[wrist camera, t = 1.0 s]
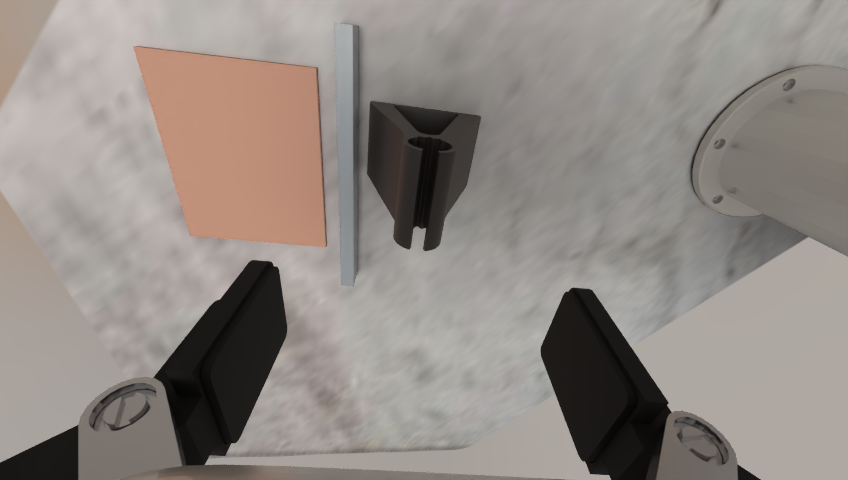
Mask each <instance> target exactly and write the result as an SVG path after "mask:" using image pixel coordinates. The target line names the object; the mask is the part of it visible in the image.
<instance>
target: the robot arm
mask: <svg viewBox="0 0 848 480" xmlns="http://www.w3.org/2000/svg"><path fill="white" fill-rule="evenodd" d="M692 174H693V185H694V189H695V192H696V194H697V195H698V197H699V198H700V200H701V201H702V202H703V203H705V204H706V205H707V206H708V207H710V208H712V209H714V210H715V211H717V212H719V213H722V214H725V215H728V216H736V217H748V216H756V215H761V214H765V215H767V216H769V217H771V218H773V219H775V220H777V221H779V222H781V223H783V224H785V225H787V226H789V227H791V228H793V229H794V230H796V231H798V232H800V233H802V234H804V235H806V236H808V237H810V238H812V239H814V240H816V241H818V242H820V243H822V244H824V245H826V246H828V247H830V248H832V249H834V250H836V251H838V252H840V253H842V254H844V255H846V256H848V70H846V69H843V68H839V67H834V66H819V65H815V66H804V67H798V68H795V69H791V70H787V71H784V72H781V73H779V74H777V75H775V76H772V77H770V78H768V79H766V80H764V81H762V82H761V83H759V84H757V85H756V86H754V87H753V88H751V89H749V90H748V91H747V92H745V93H744V94H743V95H742V96H740V97H739V98H738V99H736V100H735V101H734V102H733V103H732V104H731V105H730V106H729V107H728V108H727V109H726V110H725V111H724V112H723V113H722V114H721V115H720V116H719V117H718V119H717V120H716V121H715V122H714V124H713V125H712V126H711V127H710V129H709V130H708V132H707V134H706V135H705V137H704V139H703V140H702V142H701V144H700V146H699V149H698V151H697V154H696V156H695V160H694V165H693V170H692ZM286 334H287V322H286V316H285V309H284V302H283V295H282V288H281V281H280V274H279V269H278V267H274V266H273V263H272V262H269V261H257V260H252V261H250V262H249V263H248V264H247V266H246V267H245V268H244V270H243V271H242V272H241V273H240V275H239V276H238V277H237V279H236V280H235V281H234V282H233V284H232V285H231V286H230V288H229V289H228V290H227V291H226V293H225V294H224V295H223V297H222V298H221V299H220V300H217V301H215V302H214V303H213V304H212V305H211V306H210V307H209V308H208V310H207V311H206V312H205V313H204V315H203V316H202V317H201V318H200V320H199V321H198V322H197V323H196V325H195V326H194V327H193V329H192V330H191V331H190V332H189V334H188V335H187V336H186V337H185V339H184V340H183V341H182V342H181V344H180V345H179V346H178V347H177V349H176V350H175V351H174V352H173V354H172V355H171V356H170V357H169V359H168V360H167V361H166V363H165V364H164V365H163V366H162V368H161V369H160V370H159V371H158V373H157V374H156V375H155V376H154V378H149V377H141V378H134V379H130V380H127V381H124V382H121V383H119V384H117V385H115V386H113V387H111V388H109V389H108V390H106V391H105V392H103V393H102V394H100V395H99V396H97V397H96V398H95V399H94V400H93V401H92V402H91V403H90V404H89V405H88V406H87V408H86V409H85V411H84V412H83V414H82V415H81V418H80V422H79V425H77V426H75V427H73V428H71V429H69V430H67V431H65V432H63V433H61V434H59V435H57V436H55V437H52V438H50V439H48V440H46V441H44V442H42V443H40V444H38V445H36V446H34V447H32V448H30V449H28V450H25V451H23V452H22V453H19V454H18V455H15V456H13V457H11V458H9V459H7V460H5V461H3V462H1V463H0V480H561V479H543V478H523V477H506V476H485V475H466V474H445V473H425V472H404V471H382V470H361V469H360V470H359V469H337V468H313V467H291V466H254V465H205V463H206V461H207V459H208V457H209V455H217V456H225V455H226V453H227V451H228V449H229V447H230V445H231V443H236V442H237V441H238V440H239V438H240V436H241V434H242V432H243V430H244V428H245V425H246V423H247V421H248V419H249V417H250V415H251V412H252V410H253V408H254V406H255V404H256V401H257V399H258V397H259V395H260V393H261V390H262V388H263V386H264V384H265V382H266V380H267V377H268V375H269V373H270V371H271V369H272V366H273V364H274V362H275V360H276V358H277V355H278V353H279V351H280V349H281V347H282V345H283V342H284V340H285V338H286ZM541 357H542V360H543V362H544V365H545V367H546V370H547V373H548V375H549V378H550V381H551V383H552V386H553V389H554V391H555V394H556V396H557V399H558V402H559V405H560V407H561V410H562V412H563V415H564V418H565V421H566V423H567V426H568V428H569V431H570V434H571V436H572V439H573V442H574V444H575V447H576V450H577V452H578V455H579V457H580V458H581V460H582V461H585V462H586V464H587V467H588V469H589V472H590V474H600V475H609V476H610V478H611V480H760V479H759V478H757V477H756V476H754V475H753V474H751V473H750V472H748V471H747V470H745V469H744V468H742V467H741V466H739V465H738V464H737V459H736V454H735V452H734V450H733V448H732V447H731V445H730V443H729V442H728V441H727V439H726V438H725V437H724V436H723V435H722V434H721V433H720V432H719V431H718V430H717V429H716V428H715V427H714V426H713V425H711V424H709V423H708V422H707V421H705V420H704V419H702V418H700V417H698V416H696V415H694V414H692V413H688V412H684V411H675V412H671V411H670V409H669V408H668V406H667V404H668V401H667V400H666V398H665V397H664V395H663V394H662V392H661V391H660V389H659V388H658V387H657V385H656V383H655V382H654V380H653V379H652V378H651V376H650V375H649V373H648V372H647V370H646V369H645V367H644V366H643V364H642V363H641V362H640V360H639V358H638V357H637V355H636V354H635V353H634V351H633V350H632V348H631V347H630V345H629V344H628V342H627V341H626V339H625V338H624V336H623V335H622V333H621V332H620V330H619V329H618V327H617V326H616V325H615V323H614V322H613V320H612V319H611V317H610V316H609V314H608V313H607V311H606V310H605V308H604V307H603V305H602V304H601V302H600V301H599V300H598V298H597V297H596V295H595V294H594V292H593V291H592V290H590V289H582V288H571V289H570V290H569V292H565V293H564V295H563V297H562V300H561V302H560V304H559V307H558V309H557V311H556V314H555V316H554V318H553V320H552V323H551V325H550V327H549V330H548V332H547V334H546V337H545V339H544V341H543V344H542V346H541Z"/></svg>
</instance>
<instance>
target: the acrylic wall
mask: <svg viewBox="0 0 848 480" xmlns="http://www.w3.org/2000/svg"><path fill="white" fill-rule="evenodd" d="M334 35H335V71H336V107H337V143H338V180H339V216H340V252H341V285H345V286H354V283H355V279H356V275H357V271H358V60H359V26H355V25H348V24H340V23H334Z"/></svg>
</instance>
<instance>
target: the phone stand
mask: <svg viewBox="0 0 848 480" xmlns="http://www.w3.org/2000/svg"><path fill="white" fill-rule="evenodd" d="M480 119H481V116H477V115H470V114H463V113H455V112H448V111H441V110H433V109H424V108H418V107H411V106H404V105H396V104H389V103H382V102H374V101H371V102H370V118H369V142H368V165H367V174H368V176H369V178H370V179H371V181H372V183H373V184H374V186H375V188H376V190H377V191H378V193H379V195H380V196H381V198H382V200H383V202H384V203H385V205H386V207H387V208H388V210H389V212H390V214H391V215H392V217H393V219H394V220H395V224H394V235H393V237H394V240H395V241H396V243H397V244H399V245H400V246H402V247H404V248H406V249H410V248H411V242H412V234H413V228H414V227H416V226H418V227H419V228H421V229H422V228H426V233H425V240H424V247H423V249H424V251H429V250H432V249H435V248H436V247H438V246H439V244H440V242H441V236H442V231H443V225H444V220H445V217H446V215H447V214H448V212H449V211H450V209H451V208H452V206H453V205H454V203H455V202H456V200H457V199H458V197H459V196H460V195H461V193H462V192H463V190H464V189H465V187H466V186H467V181H468V177H469V172H470V167H471V162H472V158H473V153H474V148H475V143H476V139H477V134H478V129H479V124H480Z"/></svg>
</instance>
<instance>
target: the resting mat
mask: <svg viewBox="0 0 848 480" xmlns="http://www.w3.org/2000/svg"><path fill="white" fill-rule="evenodd" d="M134 50H135V54H136V57H137V60H138V64H139V67H140V70H141V73H142V77H143V80H144V83H145V87H146V90H147V93H148V97H149V100H150V103H151V107H152V110H153V113H154V117H155V120H156V123H157V126H158V130H159V133H160V136H161V140H162V143H163V146H164V150H165V153H166V156H167V160H168V163H169V166H170V170H171V173H172V176H173V180H174V183H175V186H176V189H177V193H178V196H179V199H180V203H181V206H182V209H183V213H184V216H185V219H186V223H187V226H188V229H189V233H190V236H198V237H210V238H222V239H234V240H246V241H258V242H271V243H283V244H295V245H307V246H319V247H326V246H327V240H326V221H325V202H324V183H323V164H322V146H321V127H320V108H319V89H318V70H317V68H315V67H306V66H298V65H289V64H281V63H272V62H264V61H256V60H247V59H239V58H230V57H222V56H213V55H205V54H197V53H188V52H180V51H171V50H163V49H154V48H146V47H138V46H136V47H134Z"/></svg>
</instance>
